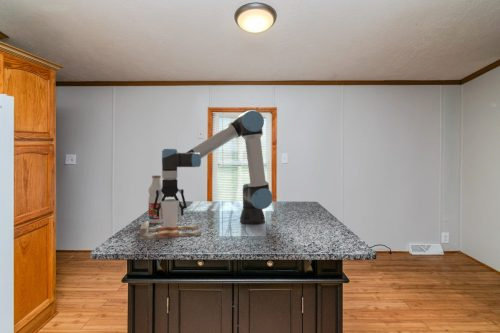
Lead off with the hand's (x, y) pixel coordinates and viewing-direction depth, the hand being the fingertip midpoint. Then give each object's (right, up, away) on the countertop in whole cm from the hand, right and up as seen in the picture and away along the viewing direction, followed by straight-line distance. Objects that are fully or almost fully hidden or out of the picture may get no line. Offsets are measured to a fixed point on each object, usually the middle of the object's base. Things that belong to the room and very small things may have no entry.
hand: (170, 222), depth 152 cm
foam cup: (0, -2, 0) cm, 2 cm away
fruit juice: (-15, -5, +26) cm, 31 cm away
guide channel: (0, -6, 0) cm, 6 cm away
